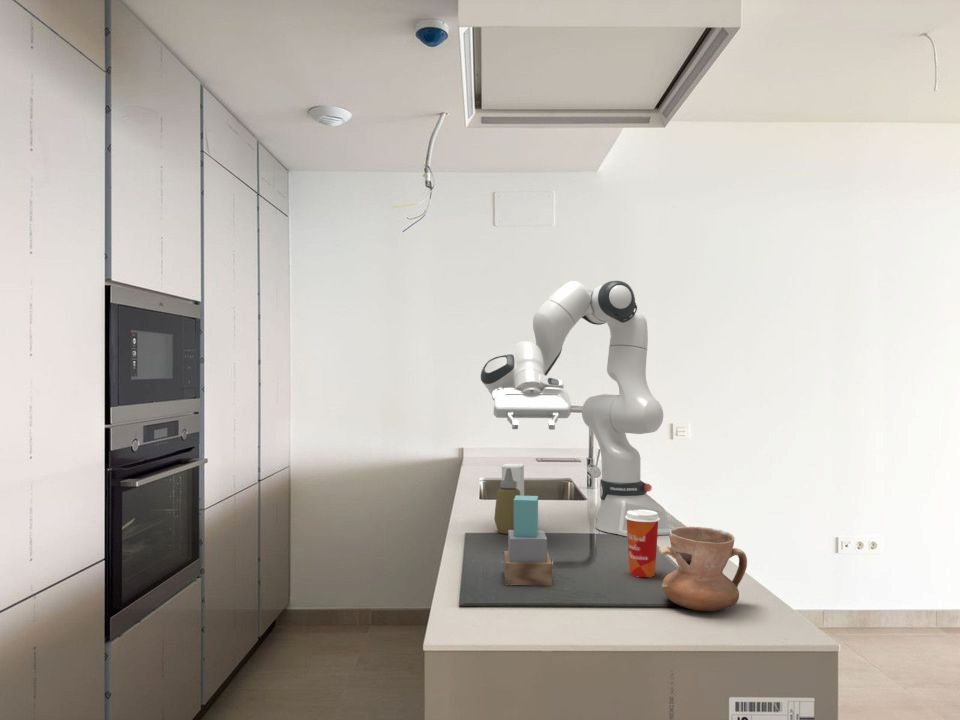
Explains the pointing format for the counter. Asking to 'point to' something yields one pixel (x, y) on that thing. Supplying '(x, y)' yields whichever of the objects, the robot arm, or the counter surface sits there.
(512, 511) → the squeeze bottle
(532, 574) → the walnut base block
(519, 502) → the teal block
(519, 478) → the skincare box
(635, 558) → the paper cup
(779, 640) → the counter surface
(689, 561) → the ceramic jug
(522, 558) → the grey top block
